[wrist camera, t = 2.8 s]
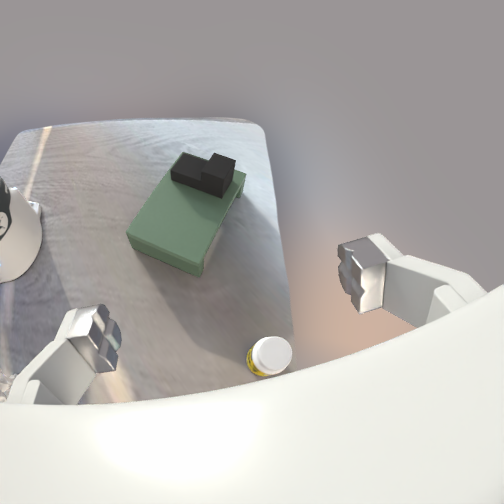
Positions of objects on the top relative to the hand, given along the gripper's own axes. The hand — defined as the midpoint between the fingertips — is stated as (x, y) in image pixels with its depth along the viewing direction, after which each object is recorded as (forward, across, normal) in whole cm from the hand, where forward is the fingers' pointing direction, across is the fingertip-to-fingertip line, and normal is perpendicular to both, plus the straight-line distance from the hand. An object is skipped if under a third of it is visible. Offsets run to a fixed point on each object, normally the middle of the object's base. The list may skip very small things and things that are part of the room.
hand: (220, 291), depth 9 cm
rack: (+38, +6, +13) cm, 40 cm away
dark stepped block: (+38, +3, +7) cm, 39 cm away
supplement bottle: (+18, 0, +28) cm, 33 cm away
